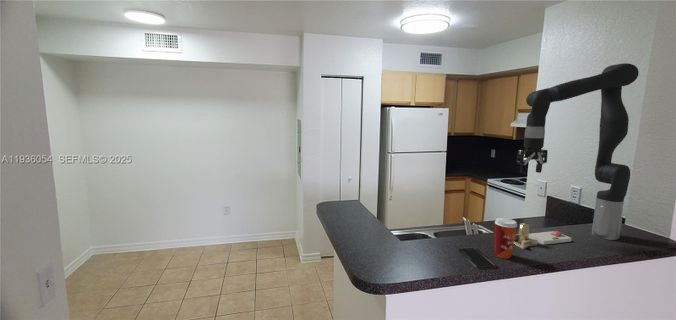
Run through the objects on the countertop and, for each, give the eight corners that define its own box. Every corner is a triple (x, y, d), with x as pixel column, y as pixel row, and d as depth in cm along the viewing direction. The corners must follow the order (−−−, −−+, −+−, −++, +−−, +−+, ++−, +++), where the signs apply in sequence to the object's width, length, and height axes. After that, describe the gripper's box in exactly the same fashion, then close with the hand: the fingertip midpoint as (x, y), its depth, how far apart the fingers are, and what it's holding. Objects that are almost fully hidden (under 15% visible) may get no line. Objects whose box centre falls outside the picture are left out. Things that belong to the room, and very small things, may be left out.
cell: (529, 244, 129) (531, 224, 128) (522, 245, 129) (524, 225, 127) (523, 240, 133) (524, 221, 132) (515, 241, 132) (517, 222, 131)
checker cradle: (553, 236, 140) (554, 230, 139) (570, 243, 132) (571, 237, 132) (527, 239, 136) (527, 233, 136) (543, 246, 129) (544, 240, 128)
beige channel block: (522, 240, 135) (522, 233, 135) (537, 247, 128) (537, 240, 128) (508, 241, 134) (509, 234, 133) (523, 248, 126) (523, 241, 126)
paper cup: (505, 261, 115) (509, 225, 113) (487, 253, 122) (490, 219, 120) (519, 257, 119) (522, 222, 117) (500, 249, 125) (503, 216, 123)
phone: (476, 248, 125) (498, 266, 110) (476, 250, 125) (497, 269, 110) (457, 248, 124) (476, 266, 109) (457, 251, 124) (476, 269, 110)
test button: (556, 238, 137) (557, 230, 136) (562, 240, 134) (563, 233, 134) (550, 238, 136) (551, 231, 136) (557, 241, 133) (558, 233, 133)
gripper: (528, 137, 133) (524, 175, 135) (554, 137, 136) (550, 173, 138) (514, 136, 140) (511, 171, 142) (540, 136, 143) (536, 170, 146)
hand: (530, 172), depth 140 cm, fingers open, 8 cm apart
